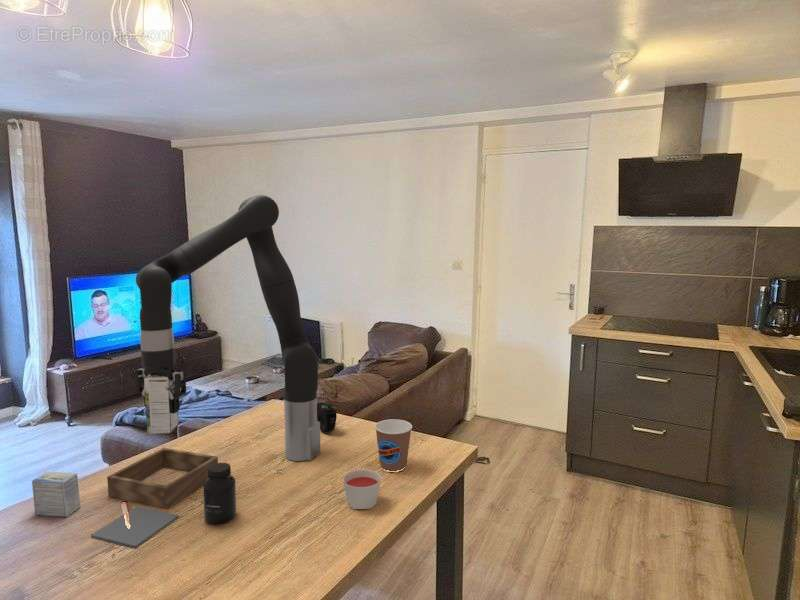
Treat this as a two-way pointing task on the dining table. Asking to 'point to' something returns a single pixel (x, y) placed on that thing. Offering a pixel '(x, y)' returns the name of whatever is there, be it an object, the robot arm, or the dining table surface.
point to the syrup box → (159, 405)
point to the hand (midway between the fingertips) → (162, 410)
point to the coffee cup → (393, 443)
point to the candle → (362, 488)
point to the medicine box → (56, 494)
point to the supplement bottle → (219, 494)
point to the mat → (135, 527)
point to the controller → (326, 417)
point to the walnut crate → (133, 489)
